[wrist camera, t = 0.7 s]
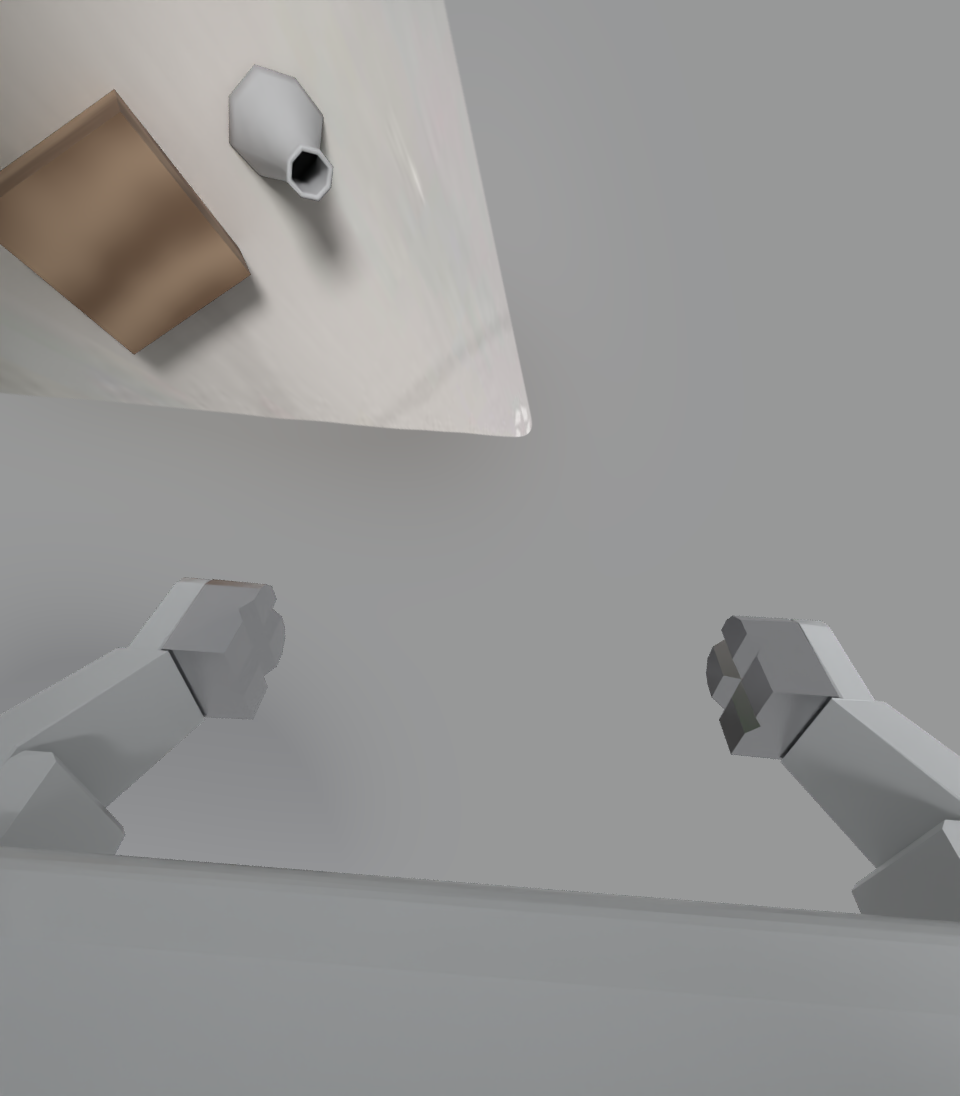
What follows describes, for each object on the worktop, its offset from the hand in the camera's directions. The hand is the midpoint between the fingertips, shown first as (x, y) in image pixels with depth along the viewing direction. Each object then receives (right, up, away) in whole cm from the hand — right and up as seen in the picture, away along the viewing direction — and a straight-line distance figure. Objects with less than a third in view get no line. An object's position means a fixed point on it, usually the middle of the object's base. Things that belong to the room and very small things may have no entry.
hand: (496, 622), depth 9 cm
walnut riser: (-28, +27, +32) cm, 50 cm away
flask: (-16, +35, +32) cm, 50 cm away
